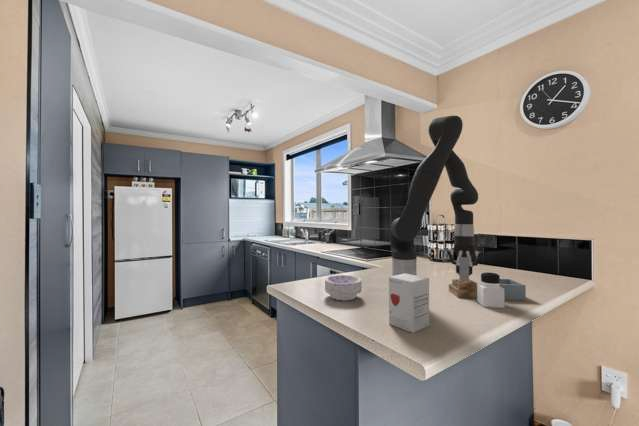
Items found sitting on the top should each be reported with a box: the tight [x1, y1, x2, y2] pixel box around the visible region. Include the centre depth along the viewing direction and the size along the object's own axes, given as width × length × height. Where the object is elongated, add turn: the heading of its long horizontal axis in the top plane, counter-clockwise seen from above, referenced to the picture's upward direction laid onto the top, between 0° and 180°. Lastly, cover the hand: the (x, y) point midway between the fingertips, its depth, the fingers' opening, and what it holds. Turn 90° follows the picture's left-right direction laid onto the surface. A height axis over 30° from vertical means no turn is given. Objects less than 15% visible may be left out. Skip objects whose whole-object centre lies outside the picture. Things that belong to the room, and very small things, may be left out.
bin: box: [499, 278, 527, 301], centre depth 117 cm, size 11×11×6 cm
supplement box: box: [388, 273, 430, 334], centre depth 86 cm, size 9×9×15 cm
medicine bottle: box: [476, 271, 506, 309], centre depth 105 cm, size 7×7×12 cm
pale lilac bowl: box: [324, 274, 363, 302], centre depth 115 cm, size 15×15×8 cm
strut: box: [458, 257, 471, 283], centre depth 120 cm, size 5×5×12 cm
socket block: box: [448, 278, 479, 299], centre depth 120 cm, size 10×10×6 cm
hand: (464, 274), depth 120 cm, fingers closed on strut, 3 cm apart
